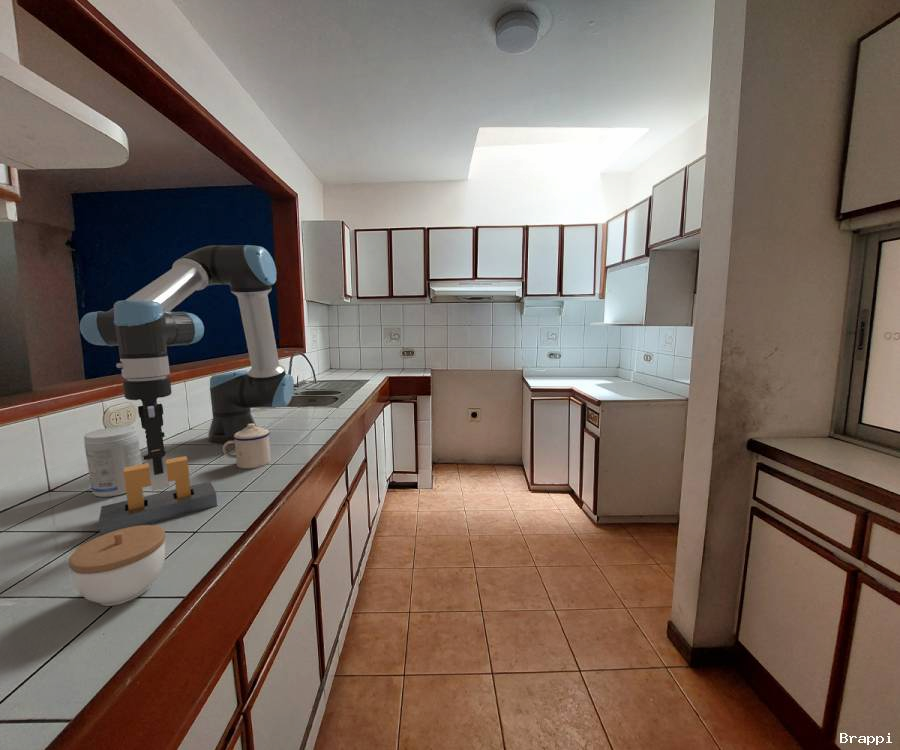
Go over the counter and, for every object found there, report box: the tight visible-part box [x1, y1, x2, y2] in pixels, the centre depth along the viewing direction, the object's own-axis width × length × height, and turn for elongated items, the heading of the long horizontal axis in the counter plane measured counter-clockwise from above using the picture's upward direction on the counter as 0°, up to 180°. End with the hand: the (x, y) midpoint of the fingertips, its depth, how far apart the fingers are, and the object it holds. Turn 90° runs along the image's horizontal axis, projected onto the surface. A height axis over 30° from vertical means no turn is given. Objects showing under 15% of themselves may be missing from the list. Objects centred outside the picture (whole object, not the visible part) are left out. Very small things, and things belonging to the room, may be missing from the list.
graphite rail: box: [98, 480, 218, 537], centre depth 80 cm, size 8×19×3 cm, turn 130°
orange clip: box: [124, 455, 191, 510], centre depth 79 cm, size 10×3×11 cm, turn 130°
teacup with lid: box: [222, 423, 271, 470], centre depth 107 cm, size 12×9×12 cm
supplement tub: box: [83, 425, 143, 498], centre depth 90 cm, size 10×10×15 cm
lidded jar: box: [68, 524, 167, 607], centre depth 56 cm, size 11×11×9 cm
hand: (158, 477), depth 79 cm, fingers open, 13 cm apart
